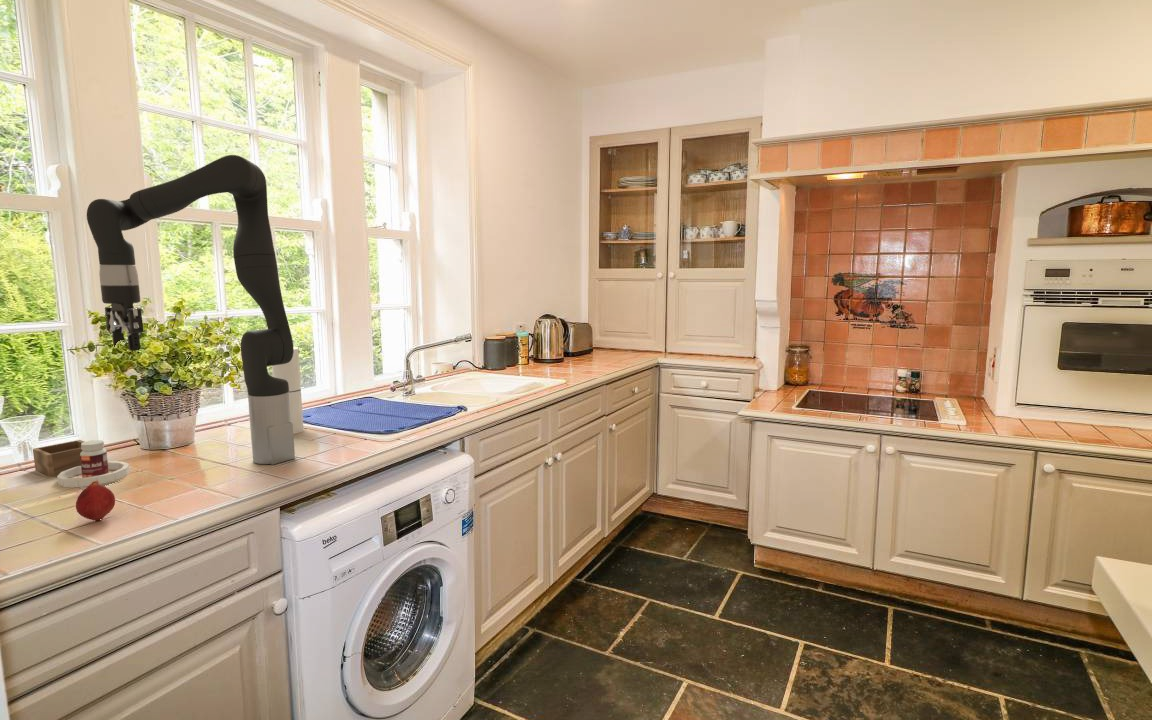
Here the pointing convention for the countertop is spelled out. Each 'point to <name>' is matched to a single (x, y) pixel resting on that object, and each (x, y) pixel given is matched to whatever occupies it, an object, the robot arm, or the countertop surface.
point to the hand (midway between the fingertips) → (126, 349)
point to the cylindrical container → (292, 388)
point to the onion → (95, 501)
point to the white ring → (67, 481)
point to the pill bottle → (93, 458)
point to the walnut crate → (57, 457)
